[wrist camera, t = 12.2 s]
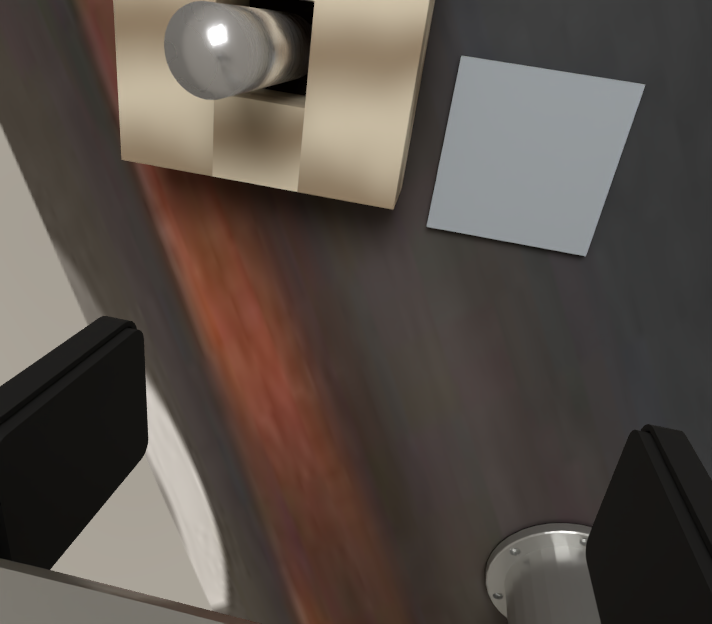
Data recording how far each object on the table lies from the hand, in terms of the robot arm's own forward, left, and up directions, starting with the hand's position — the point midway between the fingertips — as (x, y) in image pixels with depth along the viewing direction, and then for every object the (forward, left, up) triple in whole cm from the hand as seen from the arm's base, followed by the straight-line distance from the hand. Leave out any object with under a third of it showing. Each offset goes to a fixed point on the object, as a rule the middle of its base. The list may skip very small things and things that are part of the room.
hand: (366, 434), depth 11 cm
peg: (+5, +10, -27) cm, 29 cm away
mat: (+1, -5, -27) cm, 28 cm away
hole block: (+5, +10, -27) cm, 29 cm away
